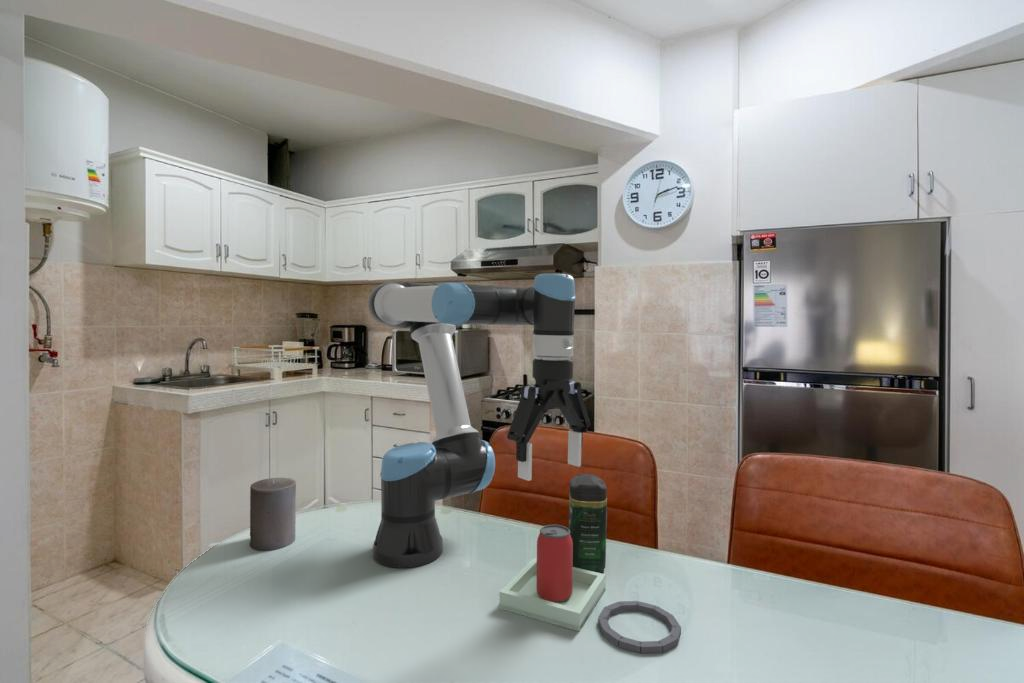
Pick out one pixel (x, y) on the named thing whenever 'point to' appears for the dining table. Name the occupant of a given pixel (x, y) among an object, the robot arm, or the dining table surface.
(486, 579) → the dining table surface
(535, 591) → the bin
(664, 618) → the socket ring
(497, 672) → the dining table surface
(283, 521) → the pillar candle
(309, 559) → the dining table surface
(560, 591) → the beer can
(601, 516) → the coffee jar
